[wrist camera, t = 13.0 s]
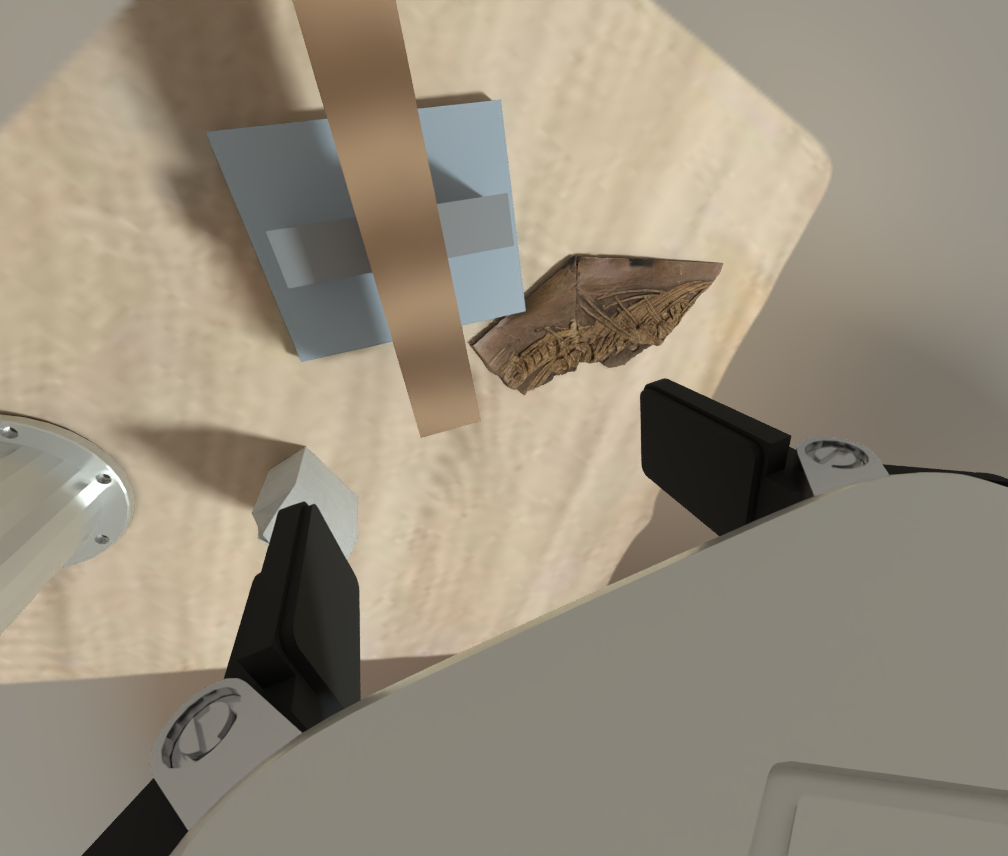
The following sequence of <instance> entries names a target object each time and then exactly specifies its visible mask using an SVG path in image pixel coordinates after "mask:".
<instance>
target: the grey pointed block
mask: <svg viewBox="0 0 1008 856" xmlns="http://www.w3.org/2000/svg"><path fill="white" fill-rule="evenodd" d="M303 501H304V502H306V503H307V504H308V505H312V504H316V505H317V507H318V508H319V510H320V512H321V514H322V516H323V517H324V519H325V521H326V523H327V525H328V526H329V528H330V530H331V532H332V534H333V536H334V537H335V539H336V541H337V543H338V545H339V546H340V548H341V550H342V552H343V554H344V556H345V557H346V559H347V560H348V558H349V556H350V554H351V551H352V549H353V547H354V545H355V543H356V541H357V538H358V496H357V495H356V494H355V493H354V492H353V491H352V490H351V489H350V488H349V487H348V486H347V485H346V484H345V483H344V482H343V481H342V480H341V479H340V478H339V477H338V476H336V475H335V474H334V473H333V472H332V471H331V470H330V469H329V468H328V467H327V466H326V465H325V464H324V463H323V462H322V461H321V460H320V459H319V458H318V457H317V456H316V455H315V454H314V453H312V452H311V451H310V450H309V449H308V448H307V447H306V446H305V447H304V448H302V449H301V450H299V451H298V452H296V453H295V454H293V455H292V456H290V457H289V458H287V459H285V460H284V461H282V462H281V463H279V464H278V465H276V466H275V467H273V468H272V469H270V470H269V471H268V474H267V476H266V479H265V481H264V484H263V486H262V489H261V491H260V494H259V496H258V499H257V501H256V504H255V507H254V509H253V512H252V514H253V517H254V519H255V521H256V523H257V526H258V531H259V533H258V539H260V540H261V541H262V542H264V543H265V544H266V545H268V546H269V542H270V539H271V535H272V532H273V528H274V524H275V521H276V517H277V514H278V511H279V510H280V509H282V508H285V507H288V506H291V505H294V504H297V503H300V502H303Z"/></svg>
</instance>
